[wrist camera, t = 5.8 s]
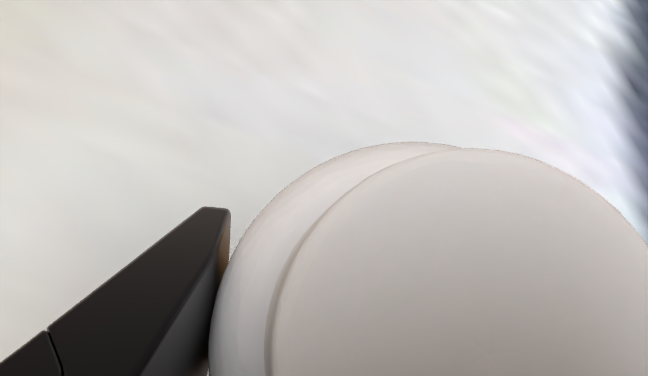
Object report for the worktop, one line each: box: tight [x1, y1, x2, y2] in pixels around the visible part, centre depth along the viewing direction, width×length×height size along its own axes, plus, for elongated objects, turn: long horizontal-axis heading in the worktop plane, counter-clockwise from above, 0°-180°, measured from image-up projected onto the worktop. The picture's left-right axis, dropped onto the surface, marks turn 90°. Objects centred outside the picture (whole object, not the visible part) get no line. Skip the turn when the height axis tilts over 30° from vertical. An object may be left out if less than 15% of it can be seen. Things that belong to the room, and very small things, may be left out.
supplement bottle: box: [208, 142, 648, 376], centre depth 10 cm, size 6×6×10 cm
